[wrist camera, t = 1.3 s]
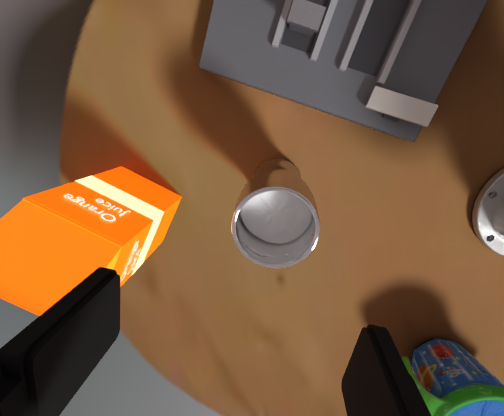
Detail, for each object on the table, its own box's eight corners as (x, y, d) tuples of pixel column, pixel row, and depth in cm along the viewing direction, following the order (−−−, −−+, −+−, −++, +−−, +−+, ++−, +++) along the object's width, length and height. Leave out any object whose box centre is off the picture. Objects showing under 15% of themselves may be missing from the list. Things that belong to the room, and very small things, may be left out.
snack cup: (507, 354, 39) (581, 431, 30) (457, 399, 43) (509, 481, 33) (413, 308, 38) (458, 373, 29) (370, 358, 42) (397, 431, 32)
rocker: (435, 106, 26) (438, 105, 26) (424, 126, 27) (427, 126, 26) (374, 87, 27) (375, 85, 26) (365, 107, 28) (366, 106, 27)
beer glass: (279, 142, 33) (279, 162, 19) (316, 184, 34) (343, 234, 20) (237, 180, 35) (209, 225, 21) (274, 219, 36) (271, 286, 22)
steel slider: (320, 19, 26) (326, 7, 23) (313, 40, 27) (317, 31, 24) (292, 10, 26) (294, -4, 23) (286, 31, 27) (287, 20, 24)
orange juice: (121, 165, 36) (-58, 221, 17) (182, 196, 36) (77, 284, 17) (104, 214, 38) (-67, 312, 19) (162, 242, 39) (51, 364, 20)
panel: (487, -25, 26) (533, -56, 21) (404, 139, 31) (426, 144, 27) (247, -111, 26) (240, -161, 21) (204, 70, 31) (191, 62, 26)
